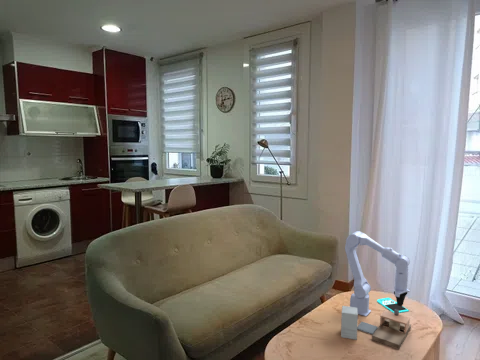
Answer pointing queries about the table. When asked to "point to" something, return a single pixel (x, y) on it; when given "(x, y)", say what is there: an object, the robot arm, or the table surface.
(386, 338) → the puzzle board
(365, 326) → the slate mat
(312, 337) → the table surface
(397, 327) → the birch block
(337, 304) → the table surface
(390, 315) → the slide cover
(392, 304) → the handheld game console
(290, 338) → the table surface
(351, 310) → the supplement box
